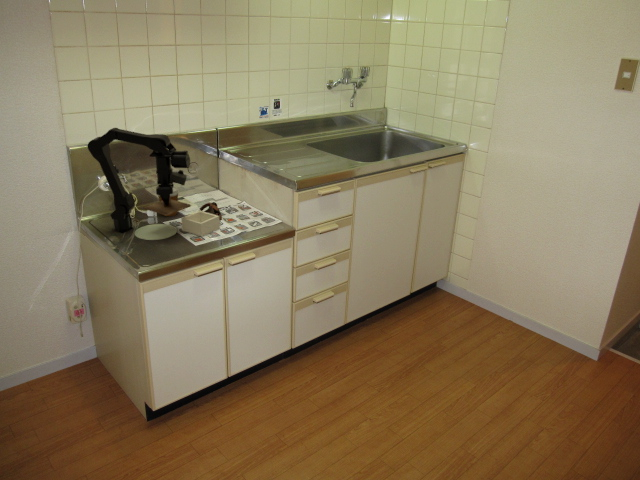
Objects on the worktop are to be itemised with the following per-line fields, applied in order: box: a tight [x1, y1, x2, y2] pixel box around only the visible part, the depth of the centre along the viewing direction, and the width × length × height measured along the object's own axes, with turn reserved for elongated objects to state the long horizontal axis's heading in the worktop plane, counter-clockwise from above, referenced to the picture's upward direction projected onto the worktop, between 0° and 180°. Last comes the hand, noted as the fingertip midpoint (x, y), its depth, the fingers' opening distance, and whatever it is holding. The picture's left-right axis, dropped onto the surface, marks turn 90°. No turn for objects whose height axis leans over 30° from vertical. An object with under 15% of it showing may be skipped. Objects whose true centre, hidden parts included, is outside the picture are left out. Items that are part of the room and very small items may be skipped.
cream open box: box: [180, 210, 221, 237], centre depth 229 cm, size 11×11×6 cm
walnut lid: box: [143, 196, 191, 217], centre depth 222 cm, size 13×13×5 cm
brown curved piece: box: [198, 201, 223, 221], centre depth 243 cm, size 12×10×8 cm
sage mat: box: [134, 223, 178, 241], centre depth 226 cm, size 17×17×1 cm
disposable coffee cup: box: [157, 186, 180, 217], centre depth 243 cm, size 10×10×12 cm
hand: (167, 204), depth 223 cm, fingers closed on walnut lid, 3 cm apart
